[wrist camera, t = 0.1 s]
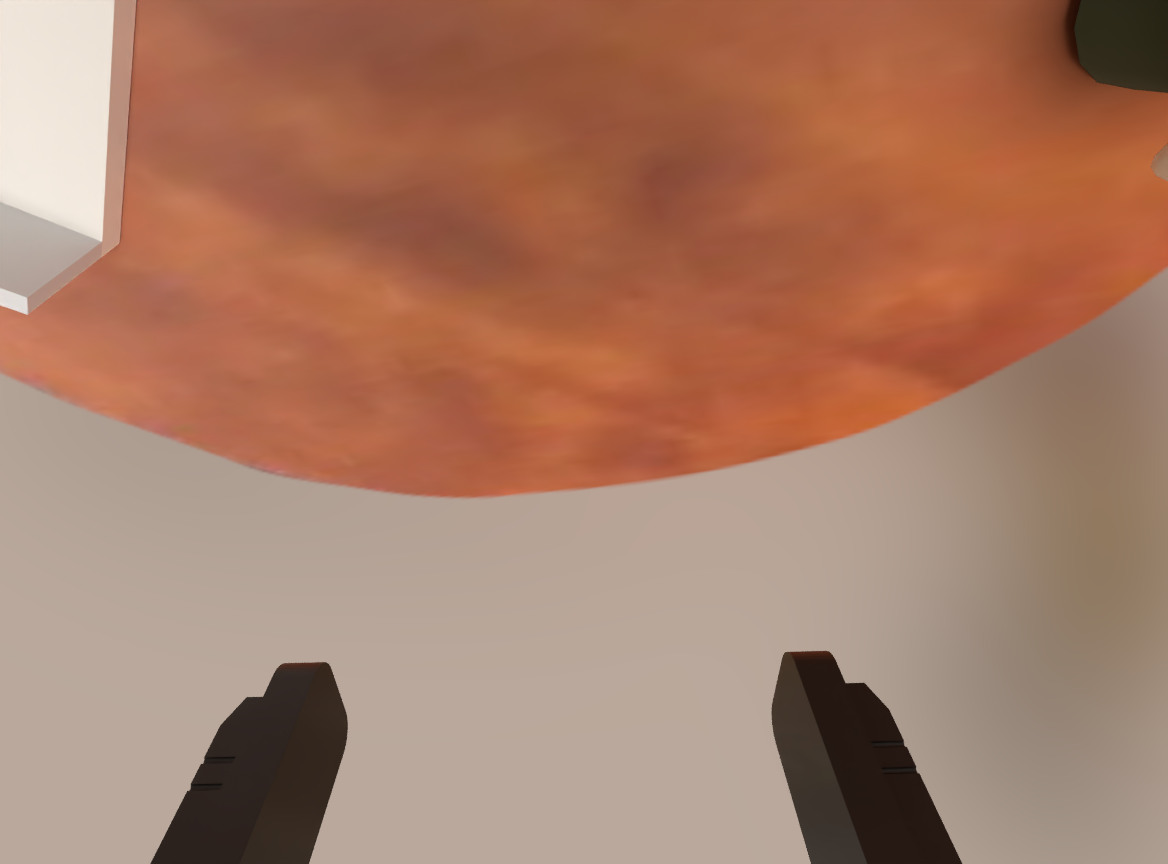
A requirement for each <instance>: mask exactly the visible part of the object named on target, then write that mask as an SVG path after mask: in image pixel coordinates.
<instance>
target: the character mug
mask: <svg viewBox="0 0 1168 864" xmlns="http://www.w3.org/2000/svg"><path fill="white" fill-rule="evenodd" d="M1074 29H1075V36H1076V43H1077V49H1078V56H1079V63H1080V64H1081V65H1082V66H1083V67H1084V69H1085V70H1086V71H1087V72H1088V73H1089V74H1090V75H1091V76H1092V77H1093V78H1094V79H1095V80H1096V82H1098V83H1103V84H1109V85H1114V86H1119V87H1124V88H1129V89H1135V90H1145V91H1155V92H1165V93H1168V0H1081V2H1080V6H1079V10H1078V14H1077V18H1076V23H1075V27H1074ZM1151 168H1152V170H1153V171H1154V173H1155V175H1156V176H1158V177H1160V178H1162V179H1164V180H1167V181H1168V144H1166V145H1165V146H1164V147H1163V148H1162V149H1161V150H1160V151H1159V152H1158V153H1157V154H1156V155H1155V156H1154V159H1153V161H1152V164H1151Z"/></svg>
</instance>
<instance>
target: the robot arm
mask: <svg viewBox="0 0 1168 864" xmlns="http://www.w3.org/2000/svg"><path fill="white" fill-rule="evenodd" d="M772 725H773V732H774V737H775V741H776V745H777V748H778V752H779V755H780V759H781V762H782V766H783V769H784V772H785V776H786V779H787V783H788V786H789V789H790V793H791V796H792V800H793V803H794V806H795V810H796V813H797V817H798V820H799V824H800V827H801V830H802V834H803V837H804V841H805V844H806V848H807V851H808V855H809V858H810V861H811V864H962V862H961V860H960V858H959V856H958V854H957V852H956V850H955V848H954V845H953V843H952V841H951V839H950V837H949V835H948V833H947V831H946V829H945V827H944V824H943V822H942V820H941V818H940V816H939V814H938V812H937V810H936V808H935V805H934V803H933V801H932V799H931V797H930V795H929V793H928V791H927V788H926V787H925V784H924V782H923V781H922V778H921V776H920V774H919V773H917V771H916V765H915V763H914V761H913V759H912V757H911V755H910V753H909V751H908V749H907V747H905V746H904V740H903V738H902V736H901V734H900V732H899V730H898V727H897V725H896V723H895V721H894V719H893V717H892V715H891V713H890V711H889V709H888V708H887V707H886V706H885V705H884V704H883V703H882V702H881V700H880V699H879V698H878V697H877V696H876V695H875V694H874V693H873V692H872V691H871V690H870V689H869V687H868V686H867V685H866V684H865V683H845V681H844V679H843V676H842V674H841V672H840V669H839V668H838V665H837V662H836V660H835V658H834V657H833V655H832V654H831V653H830V652H828V651H807V652H806V651H805V652H785V653H784V655H783V658H782V662H781V667H780V671H779V675H778V680H777V684H776V689H775V694H774V698H773V703H772ZM347 730H348V722H347V714H346V711H345V708H344V705H343V702H342V699H341V696H340V693H339V690H338V687H337V684H336V681H335V678H334V675H333V672H332V670H331V667H330V665H329V664H328V663H326V662H320V663H319V662H318V663H284V664H282V665H280V666H279V667H278V668H277V670H276V671H275V673H274V675H273V677H272V679H271V681H270V683H269V686H268V687H267V690H266V692H265V694H264V696H263V697H247V698H246V699H245V700H244V701H243V702H242V703H241V704H240V705H239V706H238V707H237V708H236V709H235V710H234V711H233V713H232V714H231V715H230V716H229V717H228V718H227V719H226V720H225V721H224V722H223V723H222V724H221V726H220V727H219V729H218V731H217V733H216V735H215V737H214V739H213V742H212V743H211V745H210V747H209V749H208V751H207V753H206V755H205V760H204V763H203V764H201V765H200V767H199V769H198V771H197V773H196V775H195V777H194V779H193V781H192V783H191V789H190V791H187V793H186V795H185V797H184V799H183V801H182V803H181V804H180V806H179V809H178V810H177V812H176V814H175V816H174V818H173V820H172V822H171V824H170V826H169V828H168V830H167V832H166V834H165V836H164V838H163V840H162V842H161V844H160V846H159V848H158V850H157V852H156V854H155V856H154V858H153V860H152V862H151V864H309V862H310V858H311V855H312V852H313V849H314V845H315V842H316V839H317V836H318V833H319V829H320V827H321V823H322V820H323V817H324V814H325V811H326V807H327V804H328V801H329V798H330V795H331V792H332V788H333V785H334V782H335V779H336V776H337V773H338V769H339V766H340V763H341V760H342V757H343V754H344V750H345V746H346V740H347Z"/></svg>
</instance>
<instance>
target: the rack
mask: <svg viewBox="0 0 1168 864" xmlns="http://www.w3.org/2000/svg"><path fill="white" fill-rule="evenodd" d="M136 1H137V0H0V305H1V306H4V307H7V308H10V309H13V310H16V311H18V312H21V313H24V314H27V315H28V314H29V313H31V312H32V311H33V310H34V309H36V308H37V307H38V306H40V305H41V304H42V303H43V302H45V301H46V300H47V299H49V298H50V297H51V296H52V295H54V294H55V293H56V292H58V291H59V290H60V289H61V288H63V287H64V286H65V285H67V284H68V283H69V282H70V281H72V280H73V279H74V278H76V277H77V276H78V275H79V274H81V273H82V272H83V271H85V270H86V269H87V268H88V267H90V266H91V265H92V264H94V263H95V262H96V261H97V260H99V259H100V258H101V257H103V256H104V255H105V254H106V253H108V252H109V251H110V250H112V249H113V248H114V247H115V246H117V245H118V244H119V243H120V232H121V218H122V203H123V189H124V174H125V160H126V145H127V131H128V116H129V102H130V87H131V73H132V58H133V44H134V29H135V15H136Z"/></svg>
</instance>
